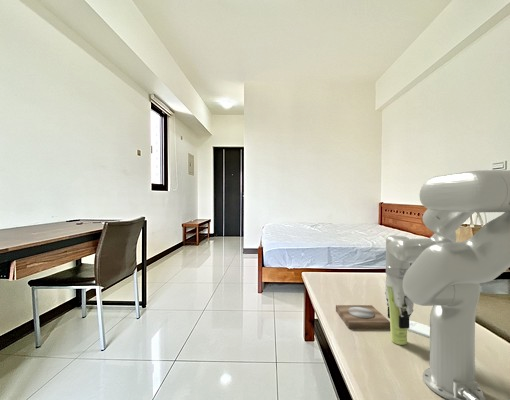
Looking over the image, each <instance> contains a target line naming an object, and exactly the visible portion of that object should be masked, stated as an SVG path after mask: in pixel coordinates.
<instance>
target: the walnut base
mask: <svg viewBox="0 0 510 400" xmlns="http://www.w3.org/2000/svg"><path fill="white" fill-rule="evenodd" d="M335 312H336V314H338V316H339V318H340V319H341V320H342V322H343V323H344V324H345V325H346V327H347V329H348V330H349V329H350V330H352V329H353V330H361V329H362V330H363V329H364V330H365V329H366V330H368V329H370V330H373V329H374V330H379V329H380V330H381V329H382V330H383V329H386V330H388V329H390V319H388V318H386V316H384V315H383V314H382V313H381V312H380V311H379V310H378V309H377V308H375V307H374V306H373V305H372V304H369V305H368V304H364V305H361V304H356V305H355V304H352V305H351V304H345V305H343V304H342V305H341V304H336V305H335ZM390 330H391V329H390Z"/></svg>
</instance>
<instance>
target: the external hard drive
mask: <svg viewBox="0 0 510 400" xmlns="http://www.w3.org/2000/svg"><path fill="white" fill-rule="evenodd" d="M408 331H409V332H411V333H414V334H417V335H419V336H422V337H425V338H428V339H430V325H426V324H423V323H421V322H417V321H413V320H410V319H409V328H407V332H408Z"/></svg>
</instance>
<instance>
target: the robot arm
mask: <svg viewBox="0 0 510 400" xmlns="http://www.w3.org/2000/svg"><path fill="white" fill-rule="evenodd" d="M419 200H420V203H421V205H422V206H423V207H424V208H426V210H425V211H424V212H423V215H422V222H423V224H424V226H426V228H427V229H428V230H430V232H432V233H434V234H432V236H430V237H429V238H409V237H407V236H403V235H389V236H386V239H385V276H386V277H385V291H384V294H385V299H386V305H387V319H390V311H389V299H388V291H387V286H391V290H392V295H393V301H394V304H395V305H396V306H397V307H399V312H400V316H399V328H409V320H410V318H411V315H412V314H413V312H414V305H418V306H420V307H422V306H423V307H431V306H432V307H431V311H430V314H429V326H430V338H429V368H426V369H425V370H424V371H423V373H422V378H423V381H424V384H426V386H427V387H428V388H429V389H430V390H431V391H433V392H434V393H435V394H437V395H438V396H440V397H443V398H445V399H446V400H486V399H487V398H486V397H485V395H484V392H483V390H482V388H481V387H480V385H479V382H477V380H476V354H475V353H476V343H475V342H476V314H477V308H478V304H479V301H480V297H481V286H480V284H484V283H489V282H492V281H493V280H495V279H496V278H498V277H499V276H501V274H503V273H504V272H505V271H506V270H508V269H509V268H510V170H497V169H496V170H493V169H492V170H488V169H487V170H486V169H485V170H470V171H464V172H458V173H456V172H455V173H450V174H449V173H448V174H444V175H437V176H436V175H435V176H433V177H431V178H429V179H427V180H426V181H424V183H423V184H422V186H421V188H420V190H419ZM475 213H502V214H500V215H499V216H497V217H496V218H494V219H492V220H490V221H488V222H486V223H485V224H484V225H482V227H480V228H479V230H478V231H477V232H475V233H474V234H473V235H472V236H471V237H470V238H468V239H466V240H464V241H457V233H456V231H457V230H458V229H459V228H460V227H461V226H462V225H463V224H464V223H465V222H466V221H468V219H470V217H472V216H473V215H474V214H475ZM402 305H405V307H402ZM402 309H406V311H404V312H403V310H402Z"/></svg>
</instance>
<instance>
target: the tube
mask: <svg viewBox="0 0 510 400" xmlns="http://www.w3.org/2000/svg"><path fill="white" fill-rule="evenodd" d="M387 291H388V299H389V306H388V307H389V311H390V318H389V321H390V340H391V342H392V343H394V344H396V345H402V346H403V345H407V344H408V343H407V342H408V330H407V328H399V316H400V312H399V307H397V306H396V305H395V304H394V301H393V295H392V290H391V286H387ZM402 307H405V305H402ZM402 310H403V312H404V311H406V309H402Z"/></svg>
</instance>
